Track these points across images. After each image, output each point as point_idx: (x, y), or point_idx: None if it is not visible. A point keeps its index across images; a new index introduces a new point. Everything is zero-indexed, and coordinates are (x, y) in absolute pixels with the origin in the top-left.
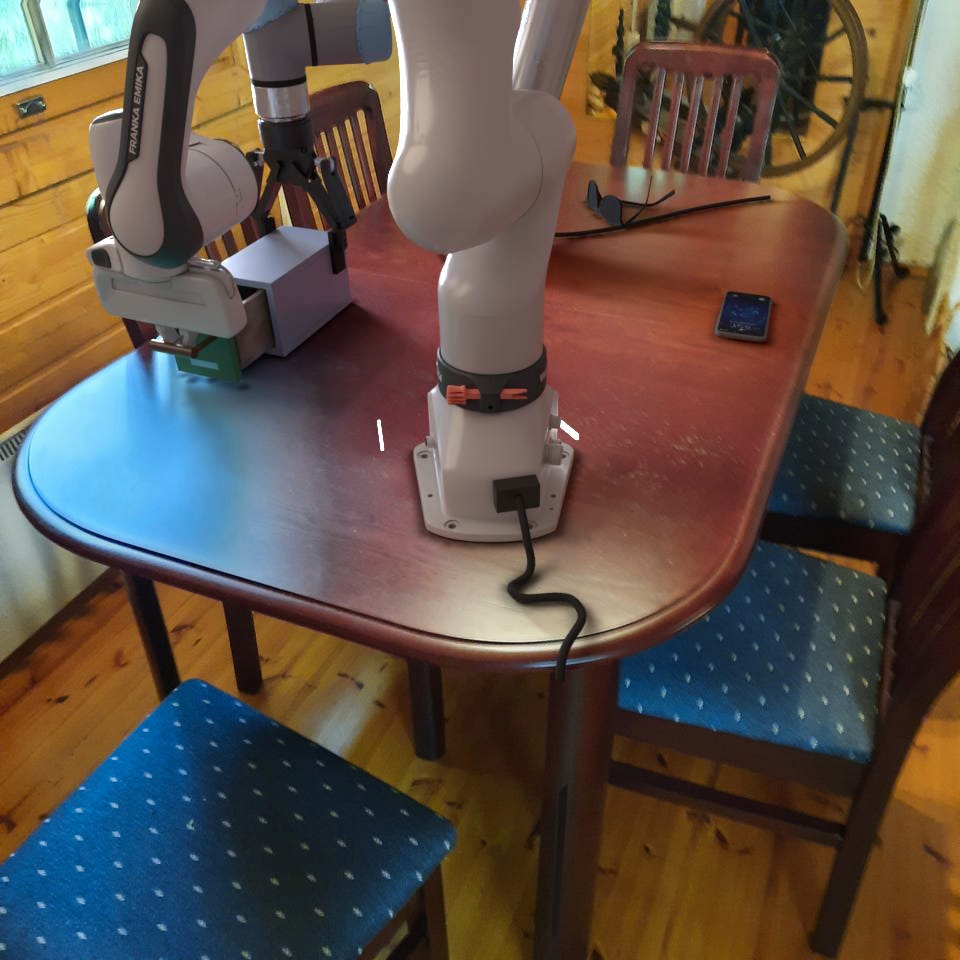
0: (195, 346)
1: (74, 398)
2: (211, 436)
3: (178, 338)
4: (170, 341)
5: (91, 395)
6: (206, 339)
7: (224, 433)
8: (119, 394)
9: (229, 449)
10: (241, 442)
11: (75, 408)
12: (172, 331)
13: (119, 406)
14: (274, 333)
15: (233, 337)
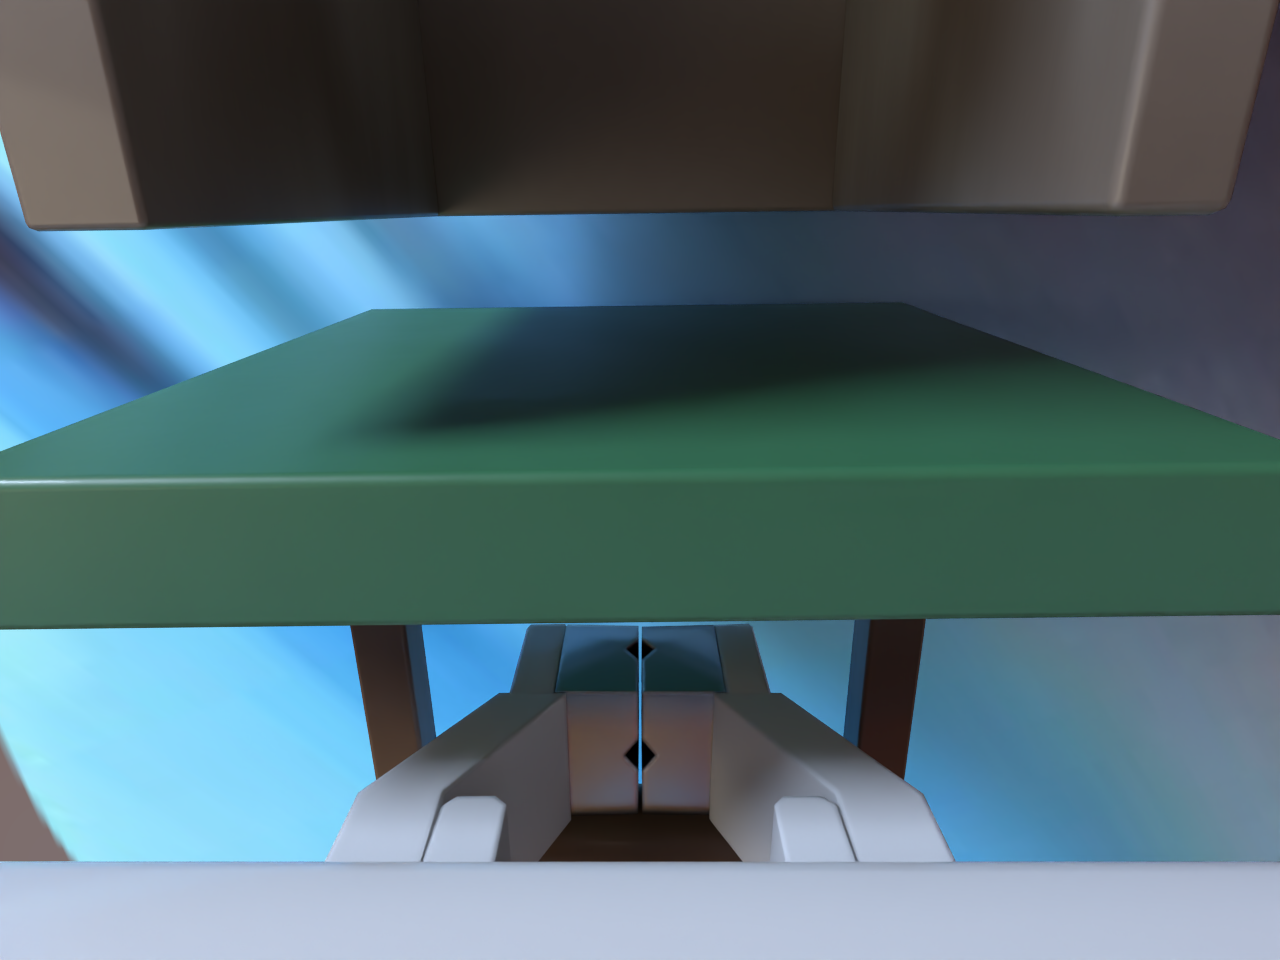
0: None
1: (41, 748)
2: (972, 772)
3: (564, 720)
4: (558, 830)
5: (91, 699)
6: (894, 638)
7: (1024, 734)
8: (219, 641)
9: (1112, 820)
10: (1146, 763)
11: (142, 809)
12: (500, 794)
13: (329, 727)
14: None
15: (1102, 376)
